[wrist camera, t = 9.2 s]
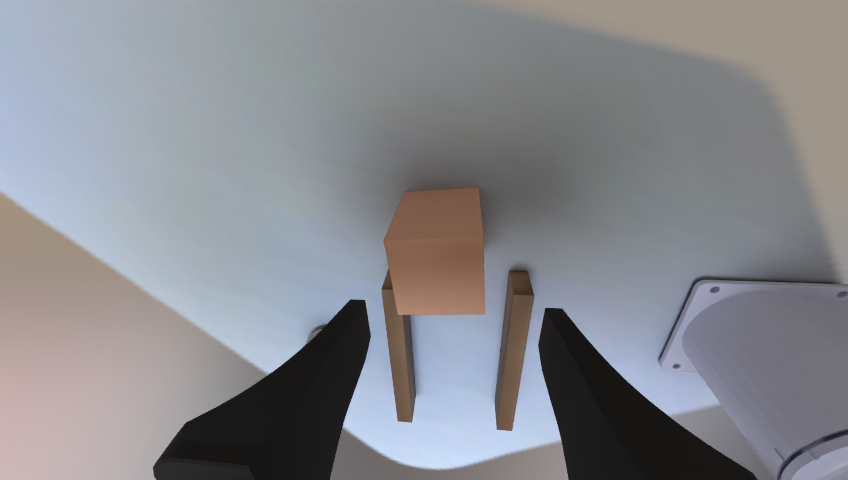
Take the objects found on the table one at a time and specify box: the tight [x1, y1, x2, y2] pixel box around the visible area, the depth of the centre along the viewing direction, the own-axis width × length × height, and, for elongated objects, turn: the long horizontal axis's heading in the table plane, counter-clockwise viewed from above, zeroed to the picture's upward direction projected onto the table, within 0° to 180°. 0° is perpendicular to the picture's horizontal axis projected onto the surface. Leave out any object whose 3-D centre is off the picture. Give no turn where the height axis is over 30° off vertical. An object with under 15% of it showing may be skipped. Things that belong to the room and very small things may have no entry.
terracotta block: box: [384, 187, 485, 315], centre depth 19 cm, size 4×4×6 cm
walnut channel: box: [382, 269, 534, 431], centre depth 25 cm, size 9×14×2 cm
